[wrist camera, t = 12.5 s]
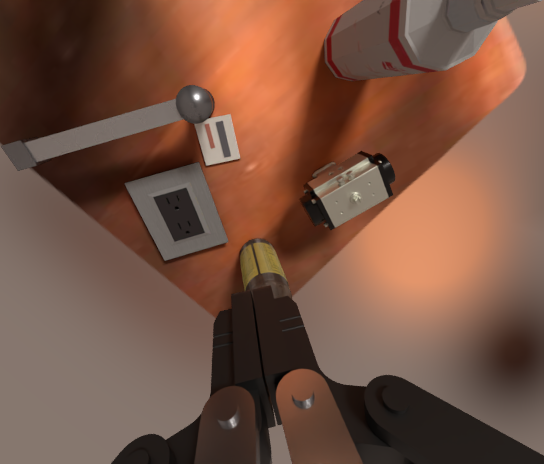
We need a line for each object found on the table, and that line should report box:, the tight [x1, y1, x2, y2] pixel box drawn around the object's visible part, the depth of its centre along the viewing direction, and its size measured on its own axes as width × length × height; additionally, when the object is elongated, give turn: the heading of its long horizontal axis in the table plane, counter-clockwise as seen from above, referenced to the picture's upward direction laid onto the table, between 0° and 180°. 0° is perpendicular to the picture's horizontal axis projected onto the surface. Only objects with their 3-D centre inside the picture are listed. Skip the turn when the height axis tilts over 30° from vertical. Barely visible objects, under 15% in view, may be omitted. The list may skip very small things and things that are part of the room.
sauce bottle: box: [240, 239, 292, 300], centre depth 39 cm, size 6×6×20 cm
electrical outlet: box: [125, 162, 228, 261], centre depth 42 cm, size 13×10×2 cm
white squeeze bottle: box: [324, 0, 542, 81], centre depth 25 cm, size 8×8×25 cm
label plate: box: [194, 114, 240, 166], centre depth 39 cm, size 6×5×1 cm
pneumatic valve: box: [299, 151, 395, 230], centre depth 38 cm, size 6×12×12 cm, turn 120°
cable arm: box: [1, 85, 213, 171], centre depth 30 cm, size 21×4×3 cm, turn 105°
